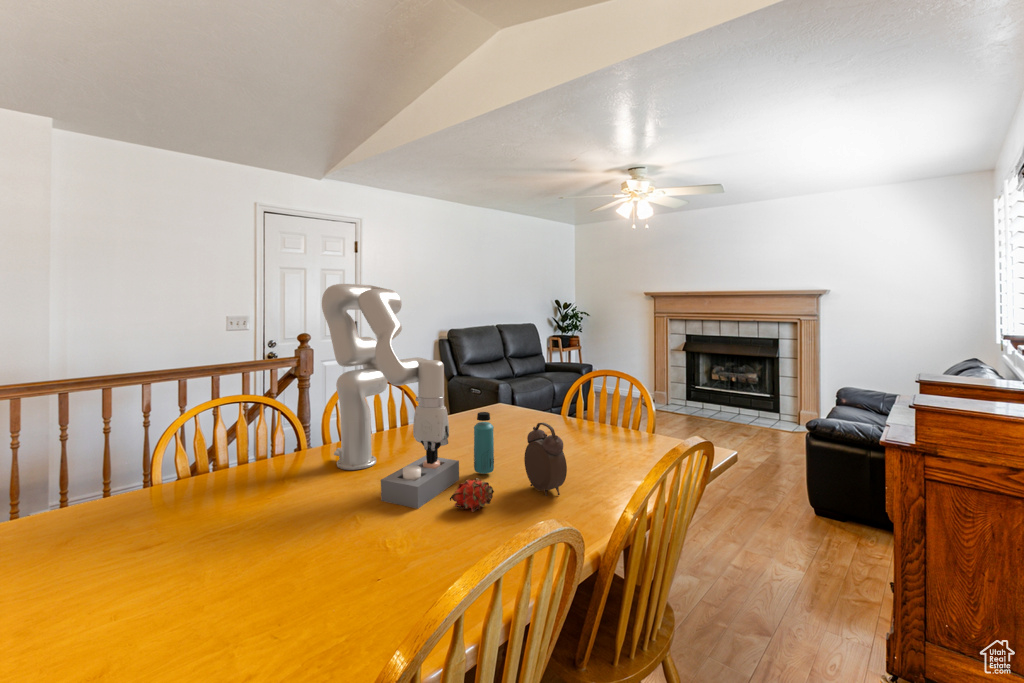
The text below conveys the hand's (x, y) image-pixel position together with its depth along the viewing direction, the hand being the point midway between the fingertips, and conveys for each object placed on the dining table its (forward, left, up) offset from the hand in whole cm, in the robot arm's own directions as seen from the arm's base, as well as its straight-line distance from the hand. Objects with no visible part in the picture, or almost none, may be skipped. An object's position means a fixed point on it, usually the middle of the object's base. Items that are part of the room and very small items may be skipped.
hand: (432, 462), depth 141 cm
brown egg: (0, 0, -4) cm, 4 cm away
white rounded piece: (0, -10, -3) cm, 10 cm away
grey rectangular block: (0, -5, -7) cm, 8 cm away
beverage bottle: (+11, +13, -7) cm, 18 cm away
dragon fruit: (+19, -10, -7) cm, 22 cm away
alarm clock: (+33, +9, -7) cm, 35 cm away
